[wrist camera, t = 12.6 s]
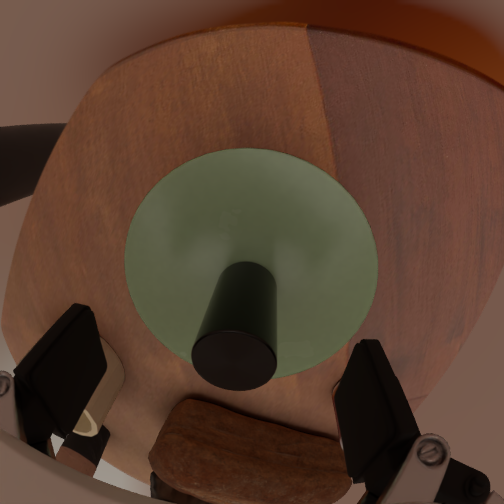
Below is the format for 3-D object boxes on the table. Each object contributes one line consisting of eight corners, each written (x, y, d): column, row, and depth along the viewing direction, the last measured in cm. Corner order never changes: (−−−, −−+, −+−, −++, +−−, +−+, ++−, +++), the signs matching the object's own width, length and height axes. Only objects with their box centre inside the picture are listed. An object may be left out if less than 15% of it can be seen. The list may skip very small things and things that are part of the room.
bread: (306, 468, 39) (307, 522, 28) (156, 423, 36) (134, 485, 25) (357, 435, 34) (368, 500, 23) (182, 379, 31) (153, 462, 20)
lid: (97, 268, 16) (32, 327, 10) (249, 91, 12) (228, 45, 6) (248, 393, 19) (239, 471, 13) (411, 280, 15) (467, 351, 8)
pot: (41, 351, 33) (11, 388, 25) (72, 291, 28) (24, 336, 19) (99, 402, 36) (76, 444, 27) (150, 361, 31) (121, 420, 22)
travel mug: (113, 429, 39) (77, 511, 21) (109, 441, 42) (77, 513, 24) (78, 409, 38) (35, 486, 20) (77, 423, 41) (41, 492, 23)
